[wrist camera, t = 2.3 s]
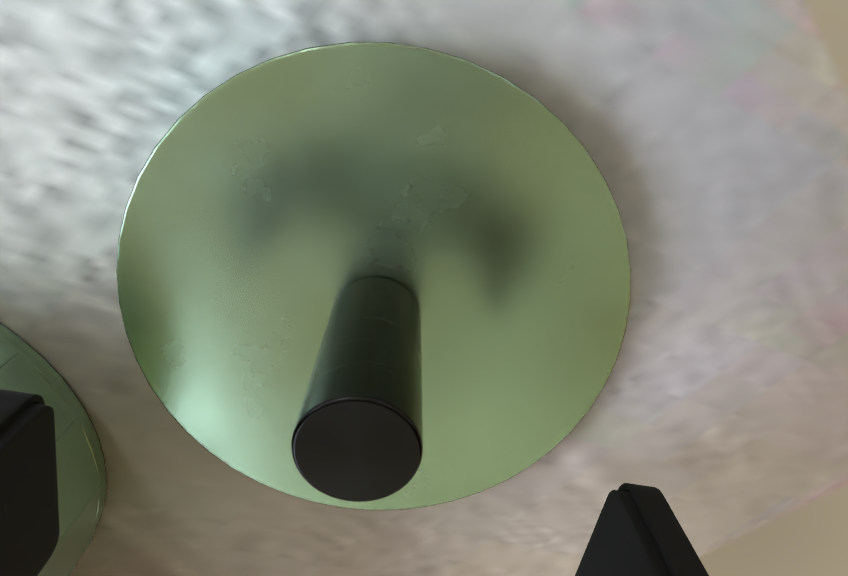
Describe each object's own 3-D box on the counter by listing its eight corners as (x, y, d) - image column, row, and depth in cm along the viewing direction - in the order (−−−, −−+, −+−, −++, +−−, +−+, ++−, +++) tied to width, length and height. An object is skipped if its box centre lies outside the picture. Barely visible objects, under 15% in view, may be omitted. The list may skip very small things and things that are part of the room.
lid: (338, -98, 13) (267, -218, 7) (717, 280, 16) (893, 422, 10) (45, 320, 17) (-166, 482, 11) (403, 548, 20) (398, 764, 14)
